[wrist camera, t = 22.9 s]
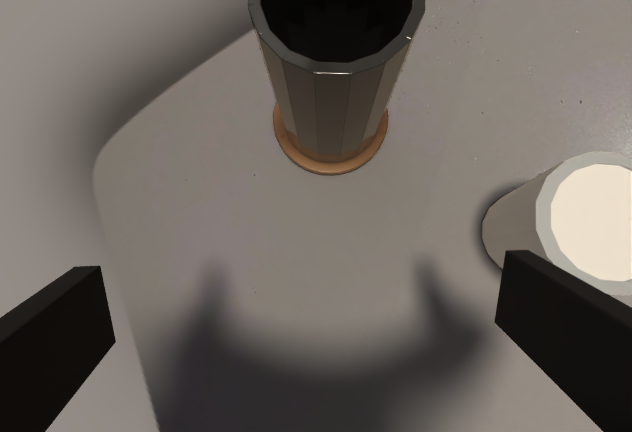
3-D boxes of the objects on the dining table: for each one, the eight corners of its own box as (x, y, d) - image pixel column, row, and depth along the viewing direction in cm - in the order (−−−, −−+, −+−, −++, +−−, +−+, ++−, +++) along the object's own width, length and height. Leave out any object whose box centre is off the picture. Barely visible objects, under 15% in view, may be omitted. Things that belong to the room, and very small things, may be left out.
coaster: (252, 108, 24) (250, 104, 24) (343, 48, 25) (343, 42, 24) (315, 197, 23) (315, 195, 23) (409, 133, 24) (411, 130, 23)
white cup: (510, 163, 23) (588, 122, 16) (597, 225, 23) (716, 208, 16) (451, 242, 23) (507, 232, 16) (539, 308, 22) (637, 328, 15)
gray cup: (267, 139, 23) (217, 32, 13) (308, 59, 24) (295, -109, 13) (354, 179, 23) (381, 102, 12) (394, 95, 24) (453, -49, 13)
